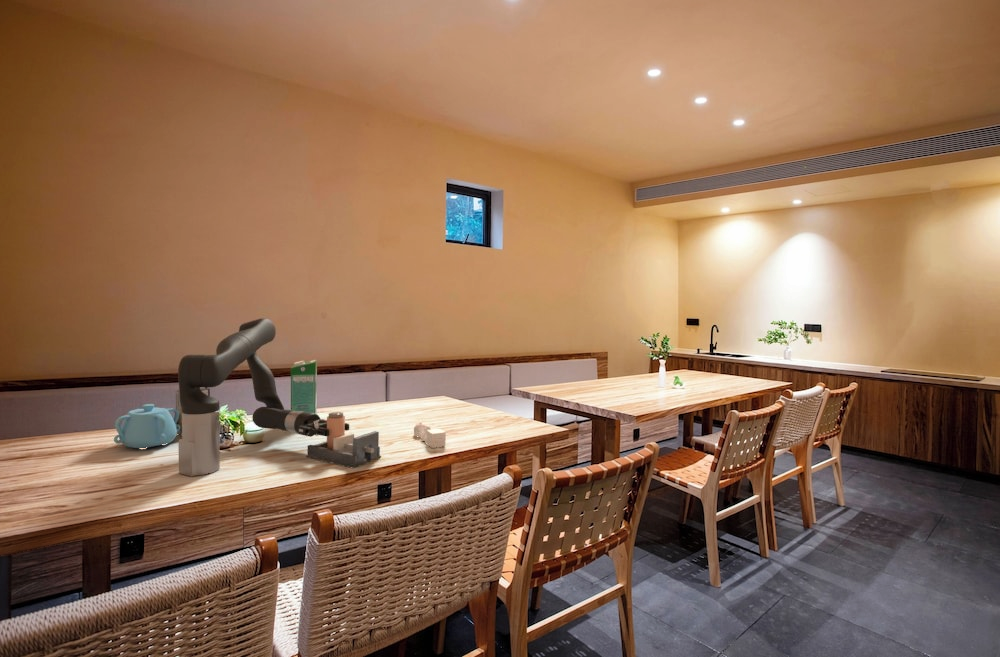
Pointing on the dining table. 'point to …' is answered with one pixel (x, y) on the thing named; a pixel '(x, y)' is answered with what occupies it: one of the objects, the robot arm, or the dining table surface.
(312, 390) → the milk carton
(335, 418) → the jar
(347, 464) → the grey holder
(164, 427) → the decorative pot
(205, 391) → the coffee box
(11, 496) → the dining table surface
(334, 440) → the pusher
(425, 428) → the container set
